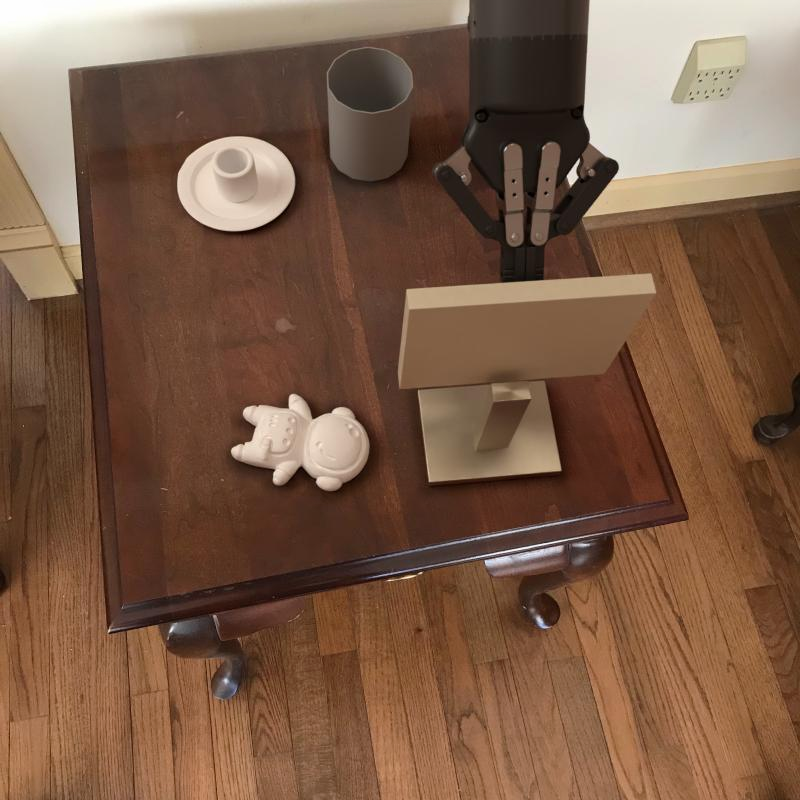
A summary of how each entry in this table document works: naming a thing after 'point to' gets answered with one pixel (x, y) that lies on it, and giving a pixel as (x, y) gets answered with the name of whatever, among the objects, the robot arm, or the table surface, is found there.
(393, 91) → the cup
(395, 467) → the table surface
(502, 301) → the monitor screen
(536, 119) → the robot arm
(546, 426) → the monitor stand
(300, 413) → the astronaut figurine
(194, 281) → the table surface
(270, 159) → the candle holder
